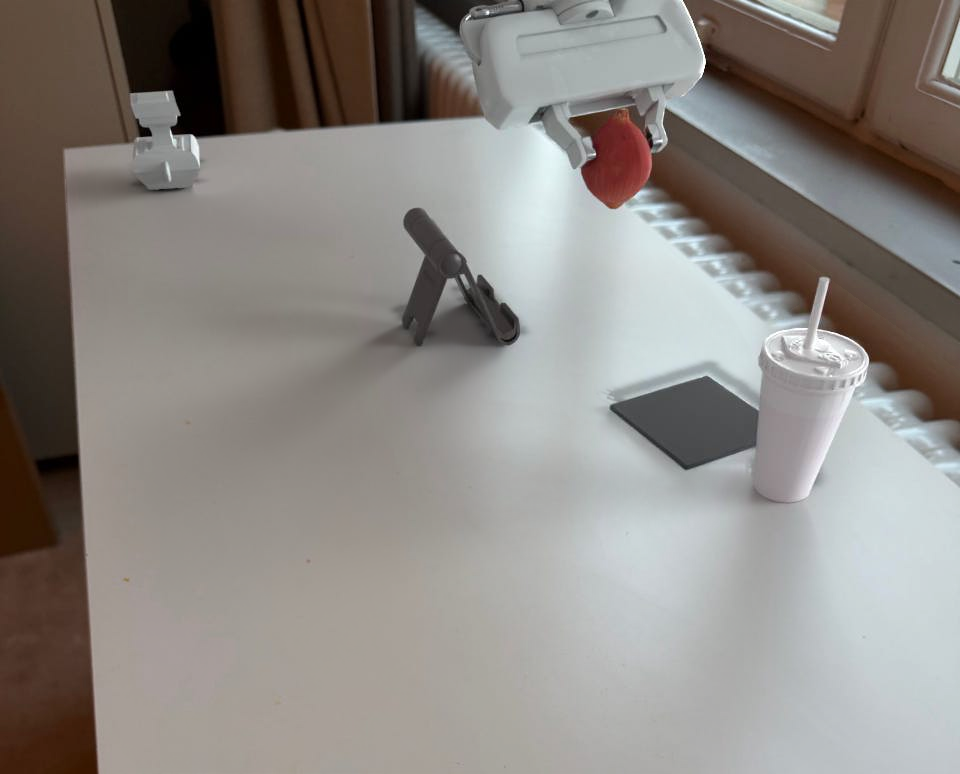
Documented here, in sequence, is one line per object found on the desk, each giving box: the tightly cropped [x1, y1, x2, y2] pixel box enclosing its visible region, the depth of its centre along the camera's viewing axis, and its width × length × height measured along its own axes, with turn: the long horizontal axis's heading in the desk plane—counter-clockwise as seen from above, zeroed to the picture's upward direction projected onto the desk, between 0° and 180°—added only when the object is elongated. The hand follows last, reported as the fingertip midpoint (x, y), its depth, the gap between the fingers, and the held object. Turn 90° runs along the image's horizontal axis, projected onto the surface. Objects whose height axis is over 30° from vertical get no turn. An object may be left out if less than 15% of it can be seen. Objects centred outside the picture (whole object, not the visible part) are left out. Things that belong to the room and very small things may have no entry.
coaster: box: [609, 374, 759, 471], centre depth 74 cm, size 9×9×1 cm
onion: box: [580, 107, 653, 210], centre depth 85 cm, size 6×6×8 cm
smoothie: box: [752, 276, 870, 504], centre depth 63 cm, size 6×6×14 cm
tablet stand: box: [401, 207, 521, 347], centre depth 81 cm, size 9×8×8 cm
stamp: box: [129, 90, 201, 191], centre depth 104 cm, size 9×7×8 cm
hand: (621, 157), depth 85 cm, fingers closed on onion, 6 cm apart
